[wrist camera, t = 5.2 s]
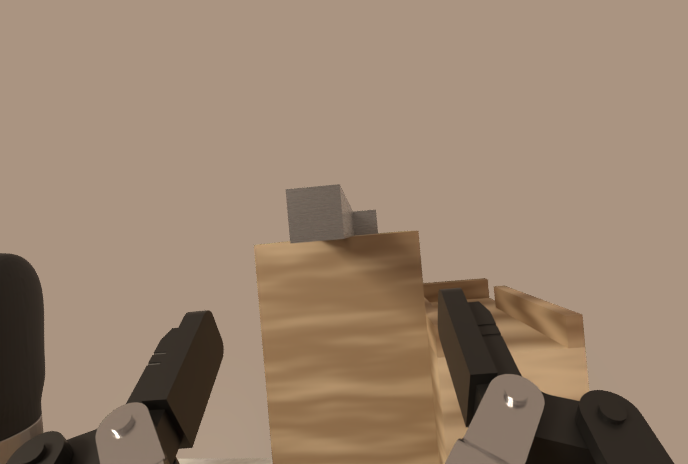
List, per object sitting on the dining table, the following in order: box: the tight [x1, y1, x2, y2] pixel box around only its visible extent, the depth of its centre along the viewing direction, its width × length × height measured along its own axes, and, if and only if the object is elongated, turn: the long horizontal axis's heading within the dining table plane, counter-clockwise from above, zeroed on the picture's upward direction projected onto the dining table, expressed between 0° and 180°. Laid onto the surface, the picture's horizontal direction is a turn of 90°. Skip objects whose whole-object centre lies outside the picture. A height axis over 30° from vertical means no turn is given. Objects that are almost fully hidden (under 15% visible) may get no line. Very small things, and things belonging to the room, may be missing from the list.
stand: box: [254, 231, 589, 464], centre depth 34 cm, size 19×21×32 cm
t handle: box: [286, 185, 378, 244], centre depth 29 cm, size 24×7×2 cm, turn 177°
